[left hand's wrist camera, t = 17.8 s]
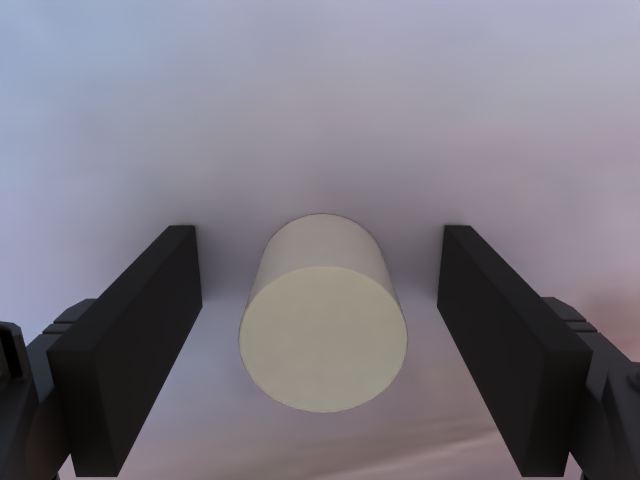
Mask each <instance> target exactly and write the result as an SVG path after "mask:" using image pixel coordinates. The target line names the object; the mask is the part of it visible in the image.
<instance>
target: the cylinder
mask: <svg viewBox="0 0 640 480" xmlns="http://www.w3.org/2000/svg"><path fill="white" fill-rule="evenodd" d="M407 346H408V332H407V325H406V321H405V318H404V315H403V312H402V309H401V306H400V304H399V301H398V298H397V295H396V292H395V289H394V287H393V284H392V281H391V278H390V275H389V272H388V270H387V267H386V264H385V261H384V258H383V255H382V253H381V250H380V248H379V246H378V244H377V243H376V241H375V240H374V238H373V237H372V236H371V235H370V234H369V233H368V232H367V231H366V230H365V229H364V228H363V227H361V226H360V225H359V224H357V223H355V222H353V221H351V220H349V219H347V218H344V217H341V216H337V215H330V214H315V215H308V216H304V217H301V218H298V219H296V220H293V221H292V222H290V223H288V224H286V225H285V226H284V227H282V228H281V229H280V230H279V231H278V232H277V233H276V234H275V235H274V236H273V237H272V238H271V239H270V241H269V242H268V244H267V246H266V248H265V250H264V252H263V255H262V258H261V261H260V264H259V267H258V270H257V273H256V276H255V279H254V283H253V286H252V289H251V292H250V295H249V298H248V301H247V304H246V307H245V310H244V314H243V317H242V320H241V324H240V328H239V350H240V354H241V358H242V361H243V363H244V366H245V368H246V370H247V372H248V373H249V375H250V377H251V378H252V379H253V381H254V382H255V383H256V384H257V385H258V386H259V387H260V388H261V389H262V390H263V391H264V392H265V393H266V394H268V395H269V396H270V397H272V398H273V399H275V400H277V401H278V402H280V403H282V404H284V405H287V406H289V407H292V408H295V409H298V410H303V411H308V412H317V413H330V412H339V411H343V410H348V409H351V408H354V407H357V406H360V405H362V404H364V403H366V402H368V401H370V400H371V399H373V398H374V397H376V396H377V395H379V394H380V393H381V392H382V391H384V390H385V389H386V388H387V387H388V386H389V385H390V384H391V382H392V381H393V380H394V378H395V377H396V376H397V374H398V372H399V370H400V369H401V367H402V364H403V362H404V359H405V356H406V352H407Z"/></svg>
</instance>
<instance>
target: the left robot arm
mask: <svg viewBox="0 0 640 480" xmlns="http://www.w3.org/2000/svg"><path fill="white" fill-rule="evenodd" d="M202 307H203V306H202V296H201V286H200V276H199V266H198V256H197V246H196V236H195V226H168V228H167V229H166V230H165V231H164V232H163V233H162V234H161V235H160V236H159V237H158V238H157V239H156V240H155V241H154V242H153V243H152V244H151V245H150V246H149V247H148V248H147V249H146V250H145V251H144V252H143V253H142V254H141V255H140V256H139V257H138V258H137V259H136V260H135V261H134V262H133V263H132V264H131V265H130V266H129V267H128V268H127V269H126V270H125V271H124V272H123V273H122V274H121V275H120V276H119V277H118V278H117V279H116V280H115V281H114V282H113V283H112V284H111V285H110V286H109V287H108V288H107V289H106V290H105V291H104V292H103V293H102V294H101V295H100V297H99V298H98V299H85V300H83V301H81V302H79V303H77V304H75V305H74V306H72V307H70V308H68V309H66V310H65V311H64V312H63V313H62V314H61V315H60V316H59V317H58V318H57V319H56V320H54V321H53V324H50V325H49V326H48V327H47V328H46V329H45V330H44V331H43V332H42V334H39V335H38V336H37V337H36V338H35V339H34V340H33V341H32V342H31V343H30V344H29V345H28V346H27V347H25V343H24V339H23V335H22V331H21V327H19V326H17V325H16V324H14V323H9V322H1V321H0V480H60V478H59V474H58V471H59V469H60V468H61V466H62V465H63V463H64V462H65V460H66V459H67V457H68V456H69V454H70V453H71V458H72V462H73V466H74V470H75V474H76V477H117V476H118V474H119V472H120V470H121V468H122V466H123V464H124V462H125V460H126V458H127V456H128V454H129V452H130V450H131V448H132V446H133V444H134V442H135V440H136V438H137V436H138V434H139V432H140V430H141V428H142V426H143V424H144V422H145V420H146V418H147V416H148V414H149V412H150V410H151V408H152V406H153V404H154V402H155V400H156V398H157V396H158V394H159V392H160V390H161V388H162V386H163V384H164V382H165V380H166V378H167V376H168V374H169V372H170V370H171V368H172V366H173V364H174V362H175V360H176V358H177V356H178V354H179V352H180V350H181V349H182V347H183V345H184V343H185V341H186V339H187V337H188V335H189V333H190V331H191V329H192V327H193V325H194V323H195V321H196V319H197V317H198V315H199V313H200V311H201V309H202ZM437 308H438V310H439V312H440V314H441V316H442V318H443V320H444V322H445V324H446V326H447V328H448V330H449V332H450V334H451V336H452V338H453V340H454V342H455V344H456V346H457V348H458V350H459V352H460V354H461V356H462V358H463V360H464V362H465V364H466V366H467V368H468V370H469V372H470V373H471V375H472V377H473V379H474V381H475V383H476V385H477V387H478V389H479V391H480V393H481V395H482V397H483V399H484V401H485V403H486V405H487V407H488V409H489V411H490V413H491V415H492V417H493V419H494V421H495V423H496V425H497V427H498V429H499V431H500V433H501V435H502V437H503V439H504V441H505V443H506V445H507V447H508V449H509V451H510V453H511V455H512V457H513V459H514V461H515V463H516V465H517V467H518V469H519V471H520V473H521V475H522V477H563V476H564V472H565V468H566V463H567V459H568V455H569V451H570V453H571V454H572V456H573V457H574V459H575V460H576V462H577V463H578V465H579V466H580V468H581V469H582V474H581V478H580V480H640V362H631V361H630V360H629V359H628V358H627V357H626V356H625V355H624V354H623V353H622V352H621V351H620V350H618V349H617V348H616V347H615V346H614V345H613V344H612V343H611V342H610V341H609V340H608V339H607V338H605V337H604V336H603V335H602V334H601V333H598V332H597V329H596V328H595V327H594V326H593V325H591V324H590V323H589V322H586V319H585V318H584V317H583V316H582V315H581V314H580V313H578V312H577V311H576V310H575V309H574V308H573V307H571V306H569V305H567V304H565V303H563V302H562V301H560V300H558V299H556V298H554V297H540V296H539V295H538V294H537V293H536V292H535V291H534V290H533V289H532V288H531V287H530V286H529V285H528V284H527V283H526V282H525V281H524V280H523V279H522V278H521V277H520V276H519V275H518V274H517V273H516V272H515V271H514V270H513V269H512V268H511V267H510V266H509V265H508V264H507V263H506V262H505V261H504V260H503V259H502V258H501V256H500V255H499V254H498V253H497V252H496V251H495V250H494V249H493V248H492V247H491V246H490V245H489V244H488V243H487V242H486V241H485V240H484V239H483V238H482V237H481V236H480V235H479V234H478V233H477V232H476V231H475V230H474V229H473V228H472V227H471V226H445V230H444V240H443V250H442V260H441V270H440V280H439V291H438V301H437Z"/></svg>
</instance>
